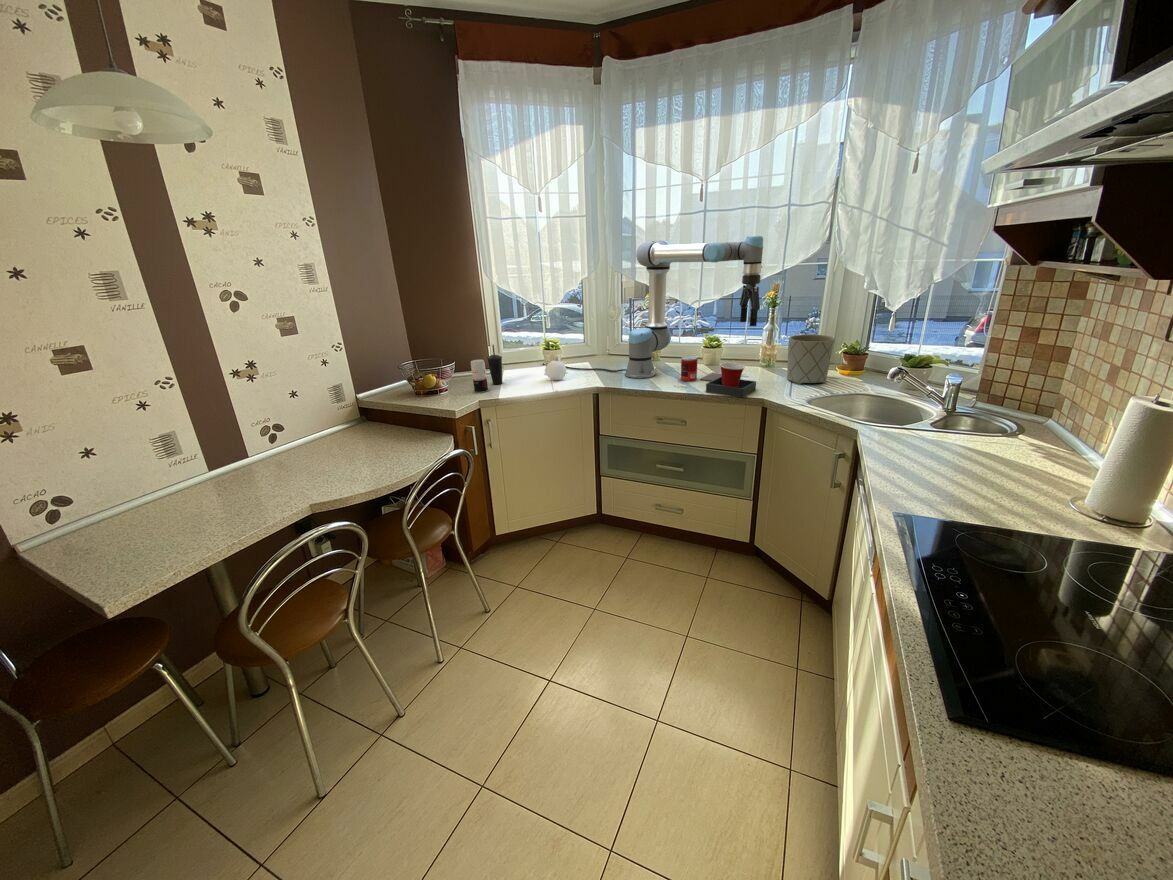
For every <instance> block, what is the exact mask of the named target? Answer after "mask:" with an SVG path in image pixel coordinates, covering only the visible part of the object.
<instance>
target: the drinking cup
mask: <svg viewBox="0 0 1173 880" xmlns="http://www.w3.org/2000/svg"><path fill="white" fill-rule="evenodd" d="M491 346H492V353H493V354H491V355H489V356H487V357H486V360H487V363H488V368H489V372H490V377H491V381H492V385H495V386H496V385H497V386H498V385H501V384H503V359H502V358H503V356H502V355H500V354H496V353H495V352H496V351H495V345H494V344H492V345H491Z"/></svg>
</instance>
